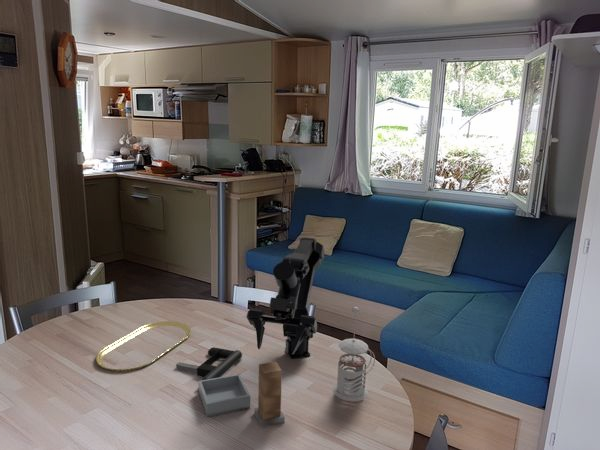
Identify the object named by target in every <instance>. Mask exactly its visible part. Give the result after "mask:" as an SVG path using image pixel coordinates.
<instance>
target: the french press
mask: <svg viewBox="0 0 600 450" xmlns="http://www.w3.org/2000/svg"><path fill="white" fill-rule="evenodd" d="M351 311H352V312H353V313H354V321H357V319H356V318H357V317H356V316H357V313H359V312H360V309H359V307H357V306H354V307H353V308H352V309H351ZM353 329H354V330H353V338H345V339H343V340H341V341H340V342H338V347H339V349H340V351H342V352H344V354H341V355H340V356H339V361H338V366H337V380H336V381H337V382H336V384H335V386H333V389H332V392H333V395H334V396H336V397H337V398H338V399H341V400H343V401H345V402H353V403H354V402H361V401H363V400H365V399H367V397H368V396H369V391H368V389H367V388H366V376H367V374H369V373H370V372H371V371H372V370H373V367H374V366H375V363H376V361H375V360H376V356H375V353H374V352H373V351H372V350H371V349H370V348H369V345H368V344H367V343H366V342H364V341H363V340H361V339H359V338H355V337H356V336H355V335H356V334H355V333H356V323H354V326H353ZM368 351H369V353H370V360H369V362H368V365H367V364H366V358H365V357H364V356H362V354H365V355H367V354H368ZM372 355H373V356H372ZM372 359H373V363H372ZM371 363H372V366H371V368H370V369H369V370H368V371H367V369H368V368H369V367H370V364H371ZM344 367H345V368H344ZM349 370H351V371H349Z"/></svg>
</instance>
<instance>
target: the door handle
mask: <svg viewBox="0 0 600 450" xmlns="http://www.w3.org/2000/svg"><path fill="white" fill-rule="evenodd" d="M207 355H208V356H209V358H208V359H206V360H205V361H204V362H203V363H201V364H200V365H197V364H191V363H186V362H178V363H176V364H175V367H176V369H177V370H181V371H184V372H188V373H192V374H197V376H198V377H201V380H207V379H213V378H219V377H225V376H226V374H228V373H229V372H230V371H231V370H233V368H234V367H235V364H237V363H238V362H239V361H242V358H243V353H242V351H241V350H239V349H236V350H230V349H225V348H219V347H214V346H213V347H211V348H209V349H208V351H207ZM216 361H218V362H220V363H218V365H213V364H214V363H215V362H216Z"/></svg>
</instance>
